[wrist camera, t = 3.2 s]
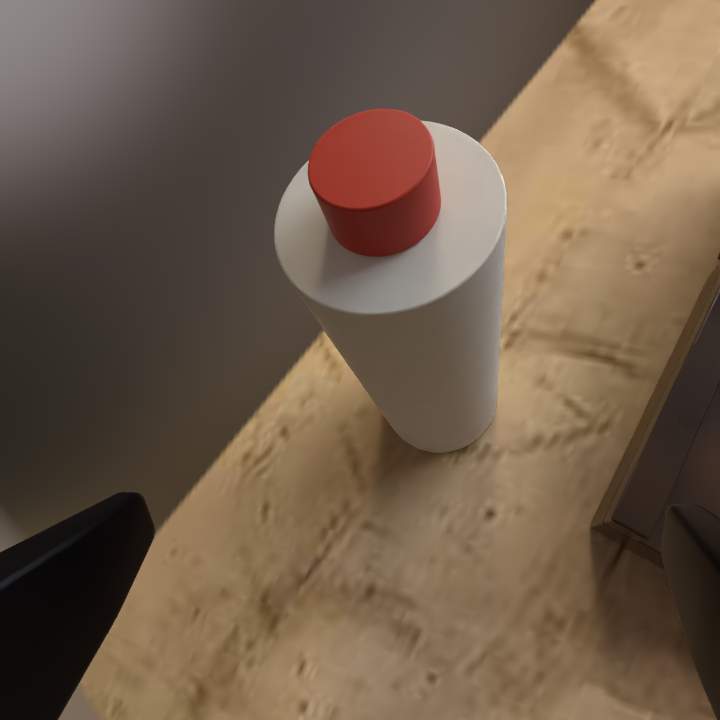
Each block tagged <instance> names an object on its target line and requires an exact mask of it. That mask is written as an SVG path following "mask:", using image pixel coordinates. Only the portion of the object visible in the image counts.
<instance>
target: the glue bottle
mask: <svg viewBox="0 0 720 720" xmlns="http://www.w3.org/2000/svg"><path fill="white" fill-rule="evenodd" d="M506 221H507V193H506V186H505V183H504V179H503V176H502V173H501V171H500V170H499V168H498V166H497V164H496V162H495V161H494V159H493V158H492V157H491V155H490V154H489V153H488V152H487V150H486V149H484V148H483V147H482V146H481V145H480V144H479V143H478V142H477V141H475V140H474V139H472V138H471V137H469V136H468V135H466V134H464V133H462V132H460V131H458V130H456V129H454V128H451V127H448V126H445V125H442V124H437V123H433V122H426V121H420V120H419V119H418V118H416V117H415V116H413V115H411V114H409V113H406V112H403V111H399V110H395V109H374V110H368V111H363V112H360V113H357V114H354V115H352V116H349V117H348V118H346V119H344V120H342V121H340V122H339V123H337V124H336V125H334V126H333V127H332V128H330V129H329V130H328V131H327V132H326V133H325V134H324V135H323V136H322V137H321V138H320V140H319V141H318V143H317V144H316V145H315V147H314V149H313V151H312V153H311V156H310V159H309V161H308V162H307V163H306V164H305V165H304V166H303V167H302V168H301V169H300V171H299V172H298V173H297V174H296V175H295V177H294V178H293V180H292V181H291V182H290V184H289V185H288V187H287V189H286V191H285V193H284V195H283V197H282V199H281V202H280V205H279V208H278V210H277V215H276V219H275V228H274V238H275V239H274V240H275V249H276V252H277V257H278V260H279V263H280V265H281V267H282V270H283V271H284V273H285V274H286V276H287V277H288V279H289V281H290V282H291V283H292V285H293V286H294V288H295V289H296V291H297V292H298V293H299V295H300V296H301V298H302V299H303V301H304V302H305V303H306V305H307V307H308V308H309V309H310V311H311V312H312V314H313V315H314V317H315V318H316V319H317V321H318V322H319V324H320V325H321V327H322V328H323V329H324V331H325V332H326V334H327V335H328V337H329V338H330V339H331V341H332V342H333V344H334V345H335V347H336V348H337V349H338V351H339V352H340V354H341V355H342V357H343V358H344V359H345V361H346V362H347V364H348V365H349V367H350V368H351V369H352V371H353V372H354V374H355V375H356V377H357V378H358V379H359V381H360V382H361V384H362V385H363V387H364V388H365V389H366V391H367V392H368V394H369V395H370V397H371V398H372V399H373V401H374V402H375V404H376V405H377V407H378V408H379V409H380V411H381V412H382V414H383V415H384V417H385V418H386V419H387V421H388V422H389V424H390V425H391V427H392V428H393V429H394V431H395V432H396V433H397V434H398V435H399V436H400V437H401V438H402V439H403V440H404V441H405V442H407V443H408V444H410V445H412V446H414V447H416V448H418V449H421V450H424V451H429V452H437V453H442V452H451V451H455V450H458V449H462V448H464V447H466V446H468V445H470V444H471V443H473V442H474V441H476V440H477V439H478V438H479V437H480V436H481V435H482V434H483V433H484V432H485V431H486V430H487V428H488V427H489V425H490V424H491V422H492V419H493V417H494V414H495V411H496V406H497V393H498V374H499V355H500V336H501V317H502V298H503V279H504V259H505V240H506Z"/></svg>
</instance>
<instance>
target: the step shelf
mask: <svg viewBox="0 0 720 720" xmlns="http://www.w3.org/2000/svg"><path fill="white" fill-rule="evenodd" d="M718 259H720V254H719V256H718ZM671 504H693V505H700V506H702V507H704V508H706V509H707V510H709V511H710V512H712V513H713V514H715V515H716V516H718V517H719V518H720V263H719V264H718V265H717V267H716V268H715V269H714V271H713V272H712V273H711V275H710V276H709V277H708V279H707V281H706V283H705V285H704V287H703V289H702V291H701V293H700V295H699V298H698V300H697V302H696V304H695V306H694V308H693V310H692V312H691V314H690V316H689V319H688V321H687V323H686V325H685V327H684V329H683V331H682V333H681V335H680V338H679V340H678V342H677V344H676V346H675V348H674V350H673V352H672V354H671V356H670V359H669V361H668V363H667V365H666V367H665V369H664V371H663V373H662V375H661V377H660V380H659V382H658V384H657V386H656V388H655V390H654V392H653V394H652V396H651V398H650V401H649V403H648V405H647V407H646V409H645V411H644V413H643V415H642V417H641V419H640V422H639V424H638V426H637V428H636V430H635V432H634V434H633V436H632V438H631V440H630V443H629V445H628V447H627V449H626V451H625V453H624V455H623V457H622V459H621V461H620V464H619V466H618V468H617V470H616V472H615V474H614V476H613V478H612V480H611V483H610V485H609V487H608V489H607V491H606V493H605V495H604V497H603V499H602V501H601V504H600V506H599V508H598V510H597V512H596V514H595V516H594V518H593V520H592V522H591V525H590V528H591V529H593V530H594V531H596V532H598V533H600V534H602V535H603V536H605V537H607V538H609V539H611V540H612V541H614V542H616V543H618V544H620V545H621V546H623V547H625V548H627V549H629V550H631V551H632V552H634V553H636V554H638V555H640V556H641V557H643V558H645V559H647V560H649V561H650V562H652V563H654V564H656V565H658V566H659V567H661V568H663V569H665V568H664V564H663V560H662V553H661V545H662V537H663V529H664V521H665V513H666V510H667V508H668V506H670V505H671Z"/></svg>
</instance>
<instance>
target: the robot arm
mask: <svg viewBox="0 0 720 720" xmlns="http://www.w3.org/2000/svg"><path fill="white" fill-rule="evenodd" d="M154 535H155V527H154V523H153V521H152V518H151V515H150V512H149V510H148V507H147V504H146V501H145V499H144V497H143V496H142V495H141V494H139V493H135V492H134V493H133V492H121V493H117V494H115V495H113V496H111V497H109V498H107V499H105V500H103V501H101V502H99V503H97V504H95V505H94V506H91V507H89V508H87V509H85V510H83V511H81V512H79V513H77V514H75V515H73V516H72V517H69V518H67V519H65V520H63V521H61V522H59V523H58V524H56V525H54V526H52V527H50V528H48V529H46V530H44V531H42V532H40V533H38V534H36V535H34V536H32V537H30V538H28V539H26V540H24V541H22V542H20V543H18V544H16V545H14V546H12V547H10V548H8V549H6V550H4V551H2V552H0V720H58V719H59V717H60V715H61V713H62V712H63V710H64V708H65V707H66V705H67V703H68V701H69V700H70V698H71V696H72V694H73V693H74V691H75V689H76V688H77V686H78V684H79V682H80V681H81V679H82V677H83V675H84V674H85V672H86V670H87V668H88V667H89V665H90V663H91V661H92V660H93V658H94V656H95V655H96V653H97V651H98V649H99V648H100V646H101V644H102V642H103V641H104V639H105V637H106V635H107V634H108V632H109V630H110V628H111V627H112V625H113V623H114V621H115V619H116V618H117V616H118V614H119V612H120V610H121V608H122V606H123V604H124V601H125V599H126V597H127V595H128V593H129V591H130V589H131V586H132V584H133V582H134V580H135V578H136V576H137V573H138V571H139V569H140V567H141V565H142V563H143V561H144V558H145V556H146V554H147V552H148V550H149V548H150V546H151V543H152V541H153V539H154ZM661 553H662V560H663V564H664V568H665V571H666V574H667V578H668V581H669V584H670V587H671V591H672V594H673V597H674V601H675V604H676V607H677V610H678V614H679V617H680V620H681V624H682V627H683V630H684V633H685V637H686V640H687V643H688V646H689V650H690V653H691V656H692V659H693V662H694V665H695V668H696V670H697V673H698V675H699V678H700V680H701V683H702V686H703V688H704V690H705V693H706V695H707V697H708V700H709V702H710V704H711V707H712V709H713V711H714V714H715V716H716V718H717V720H720V518H719V517H718V516H716V515H715V514H713V513H712V512H710V511H709V510H707V509H706V508H704V507H702V506H700V505H693V504H671V505H670V506H668V508H667V510H666V513H665V521H664V529H663V537H662V545H661Z"/></svg>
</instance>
